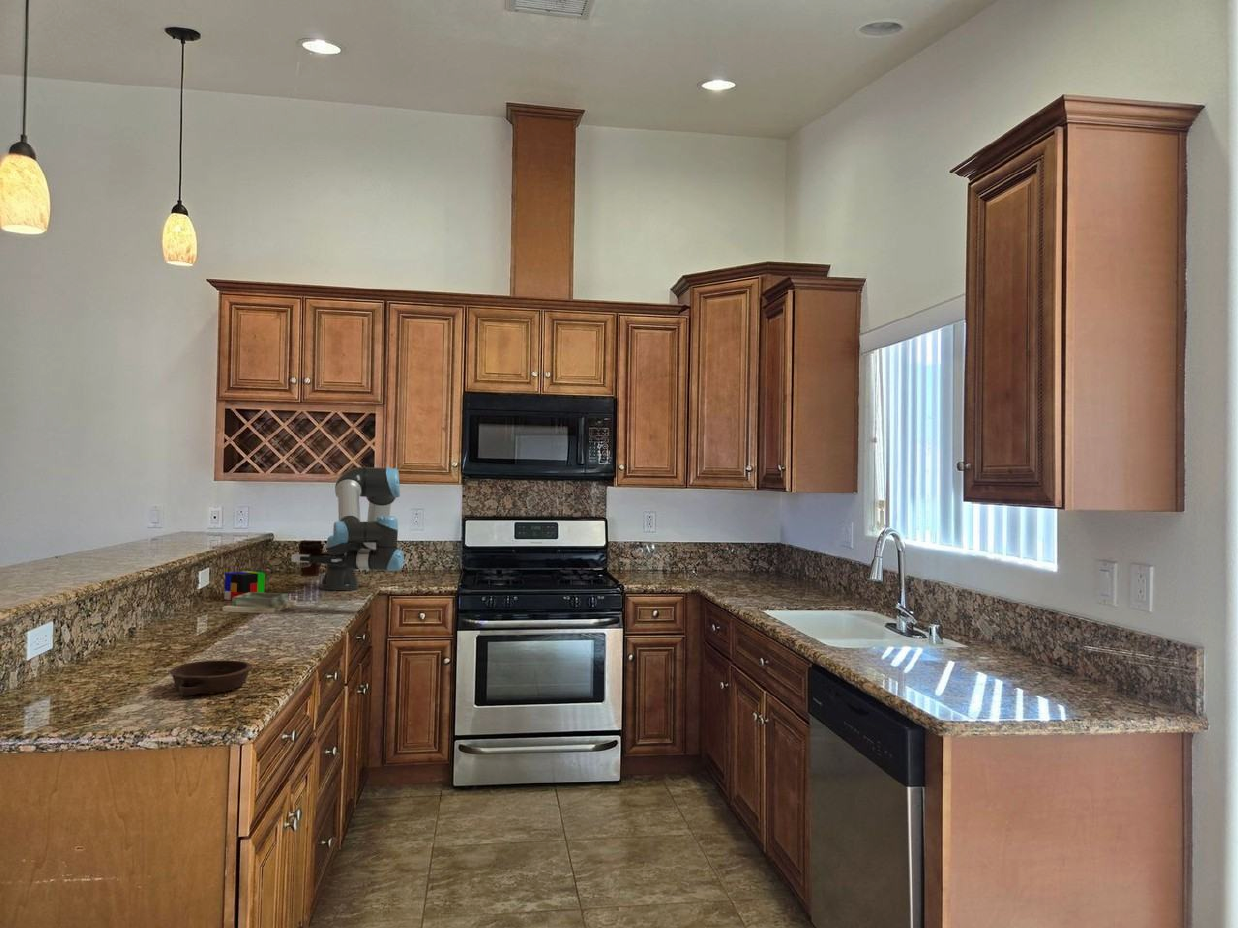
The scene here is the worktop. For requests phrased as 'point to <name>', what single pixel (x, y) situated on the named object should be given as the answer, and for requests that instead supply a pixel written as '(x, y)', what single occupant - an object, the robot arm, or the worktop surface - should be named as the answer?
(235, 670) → the dish
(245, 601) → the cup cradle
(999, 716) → the worktop surface
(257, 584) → the puzzle toy
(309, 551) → the coffee cup
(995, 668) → the worktop surface
